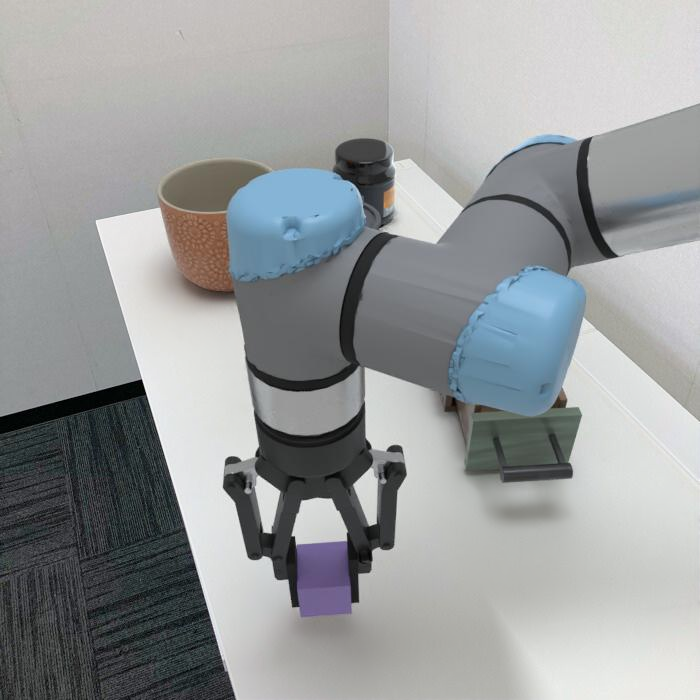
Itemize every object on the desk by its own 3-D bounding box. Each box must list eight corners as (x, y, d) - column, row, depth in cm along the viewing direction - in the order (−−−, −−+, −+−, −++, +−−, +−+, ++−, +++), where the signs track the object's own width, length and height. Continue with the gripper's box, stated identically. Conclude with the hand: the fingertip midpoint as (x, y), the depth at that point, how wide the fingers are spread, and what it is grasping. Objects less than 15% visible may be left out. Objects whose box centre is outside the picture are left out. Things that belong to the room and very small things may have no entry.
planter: (173, 311, 102) (153, 218, 92) (177, 249, 114) (159, 161, 105) (290, 299, 104) (283, 207, 94) (281, 239, 116) (274, 152, 106)
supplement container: (403, 207, 124) (406, 142, 116) (380, 236, 117) (381, 169, 109) (349, 196, 128) (348, 132, 120) (323, 223, 120) (320, 157, 113)
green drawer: (584, 505, 74) (600, 455, 69) (476, 512, 73) (485, 463, 68) (535, 381, 88) (545, 333, 83) (445, 386, 88) (450, 338, 83)
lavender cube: (351, 614, 61) (350, 585, 58) (300, 617, 61) (296, 589, 58) (348, 569, 64) (347, 540, 61) (299, 572, 64) (296, 544, 61)
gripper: (429, 355, 50) (417, 547, 65) (184, 371, 50) (228, 561, 65) (448, 432, 45) (429, 623, 60) (170, 450, 44) (222, 639, 59)
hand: (325, 590), depth 62 cm, fingers closed on lavender cube, 4 cm apart
